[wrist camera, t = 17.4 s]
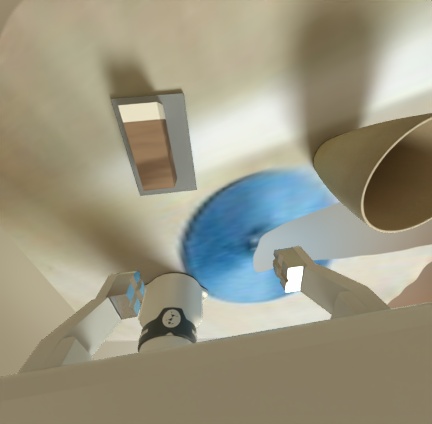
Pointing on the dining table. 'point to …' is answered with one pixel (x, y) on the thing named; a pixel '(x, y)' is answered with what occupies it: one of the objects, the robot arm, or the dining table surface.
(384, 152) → the plant pot
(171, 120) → the grey mat
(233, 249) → the dining table surface
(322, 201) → the dining table surface
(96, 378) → the robot arm
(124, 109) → the walnut block
